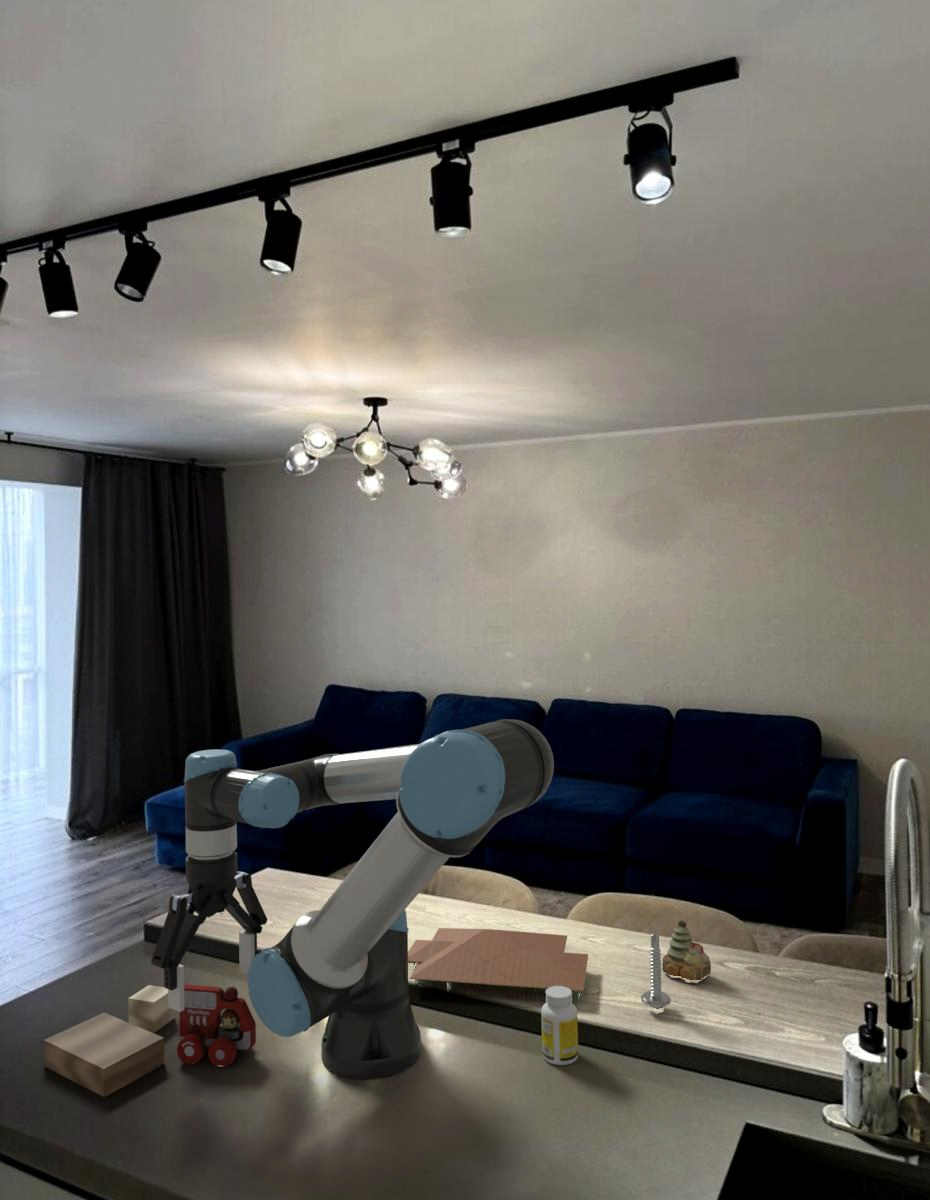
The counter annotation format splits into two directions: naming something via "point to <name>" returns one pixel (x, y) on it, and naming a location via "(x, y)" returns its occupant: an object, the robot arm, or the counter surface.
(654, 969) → the screw
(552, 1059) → the supplement bottle
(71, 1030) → the plinth
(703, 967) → the ornament
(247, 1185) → the counter surface
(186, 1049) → the toy fire truck
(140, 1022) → the birch block
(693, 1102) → the counter surface
